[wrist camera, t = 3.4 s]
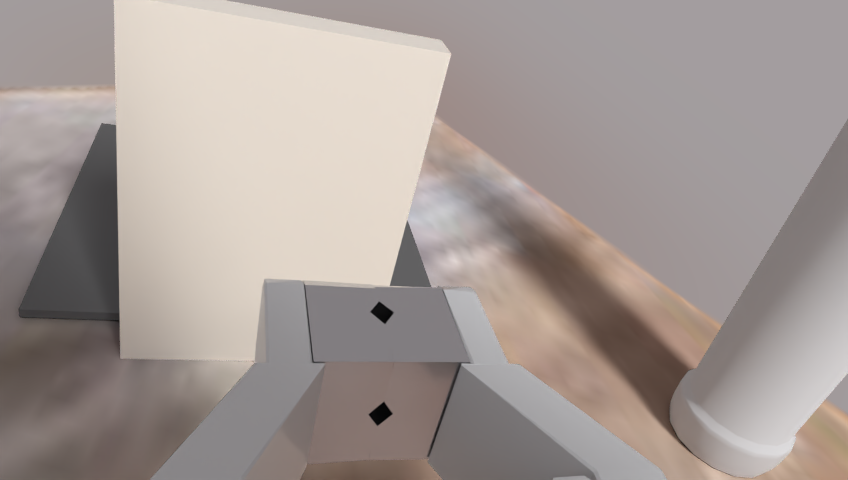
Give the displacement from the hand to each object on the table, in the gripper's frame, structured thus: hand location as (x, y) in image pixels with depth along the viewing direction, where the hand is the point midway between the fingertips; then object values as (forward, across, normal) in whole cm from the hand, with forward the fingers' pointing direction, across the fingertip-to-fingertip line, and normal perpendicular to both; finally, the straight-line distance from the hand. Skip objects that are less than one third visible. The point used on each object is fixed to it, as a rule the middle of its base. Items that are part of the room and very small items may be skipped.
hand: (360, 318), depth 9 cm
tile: (+14, 0, +14) cm, 19 cm away
